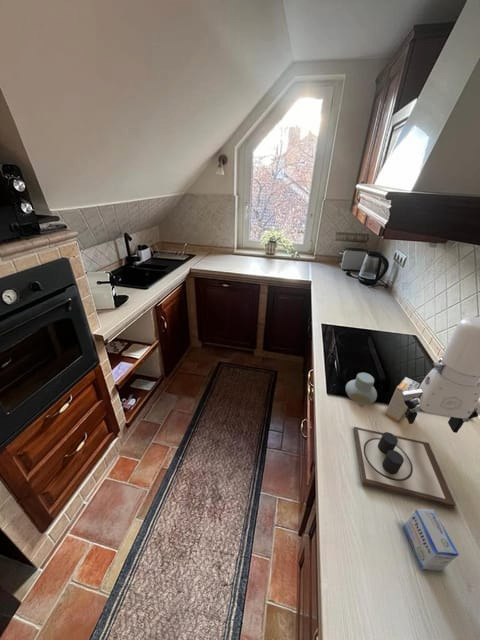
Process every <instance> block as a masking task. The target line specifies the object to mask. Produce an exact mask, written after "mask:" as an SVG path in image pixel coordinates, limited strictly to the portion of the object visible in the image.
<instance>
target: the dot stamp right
mask: <svg viewBox="0 0 480 640" xmlns="http://www.w3.org/2000/svg"><path fill="white" fill-rule="evenodd" d="M403 462H404V459H403V457H402V455H401V454H400V453H399V452H397V451H395V450H389V451H388V452H387V454H386V456H385V458H384V460H383V462H382V466H383V468H384V469H385V471H387V472H388V473H390V474H397V472H398V471H399V469H400V467H401V465H402V464H403Z"/></svg>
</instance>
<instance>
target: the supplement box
mask: <svg viewBox="0 0 480 640" xmlns="http://www.w3.org/2000/svg"><path fill="white" fill-rule="evenodd" d="M420 385H421V383H419V382H418V381H416V380H413V379H411V378H409V377H407V376H405V377H404V378H403V379H402V380H401V382H400V383H399V384H398V385H397V386H396V388H395V390H394V392H393V395H392V397H391V399H390V402H389V404H388V406H387V408H386V410H385V413H384V414H385V415H386V416H388V417H389V418H391V419H392V420H394V421H396V422H399V421H400V420H401V419H402V417H403V415H405V412H406V410H407V408H408V407H407V406H406V405H405V402H404V400H403V397H402V394H401V392H403V391H409V390H416V389H419V387H420ZM412 399H414V397H413V398H410V400H412Z"/></svg>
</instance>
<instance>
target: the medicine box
mask: <svg viewBox="0 0 480 640" xmlns="http://www.w3.org/2000/svg"><path fill="white" fill-rule="evenodd" d="M402 528H403V530H404V533H405V535H406V537H407V540H408V542H409V544H410V546H411V549H412V551H413V553H414V555H415V558H416V561H417V562H418V565H419V567H420V569H421V570H429V571H430V570H431V571H443V570H444V569H445V568H446V567H447V566H448V565H449V564H450V563H452V561H453V560H455V559H456V558H457V557H459V556H460V554H459V552H458V550H457V548H456V547H455V545H454V543H453V542H452V539H451V537H450V536H449V534H448V532H447V530H446V529H445V527H444V525H443V523H442V521H441V520H440V518H439V516H438V514H437V512H436V510H435V509H428V508H427V509H426V508H416V509H415V510H413V512H412V513H411V514H410V516H409V517H408V518H407V520H406V521H405V522H404V523H403V525H402Z"/></svg>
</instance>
